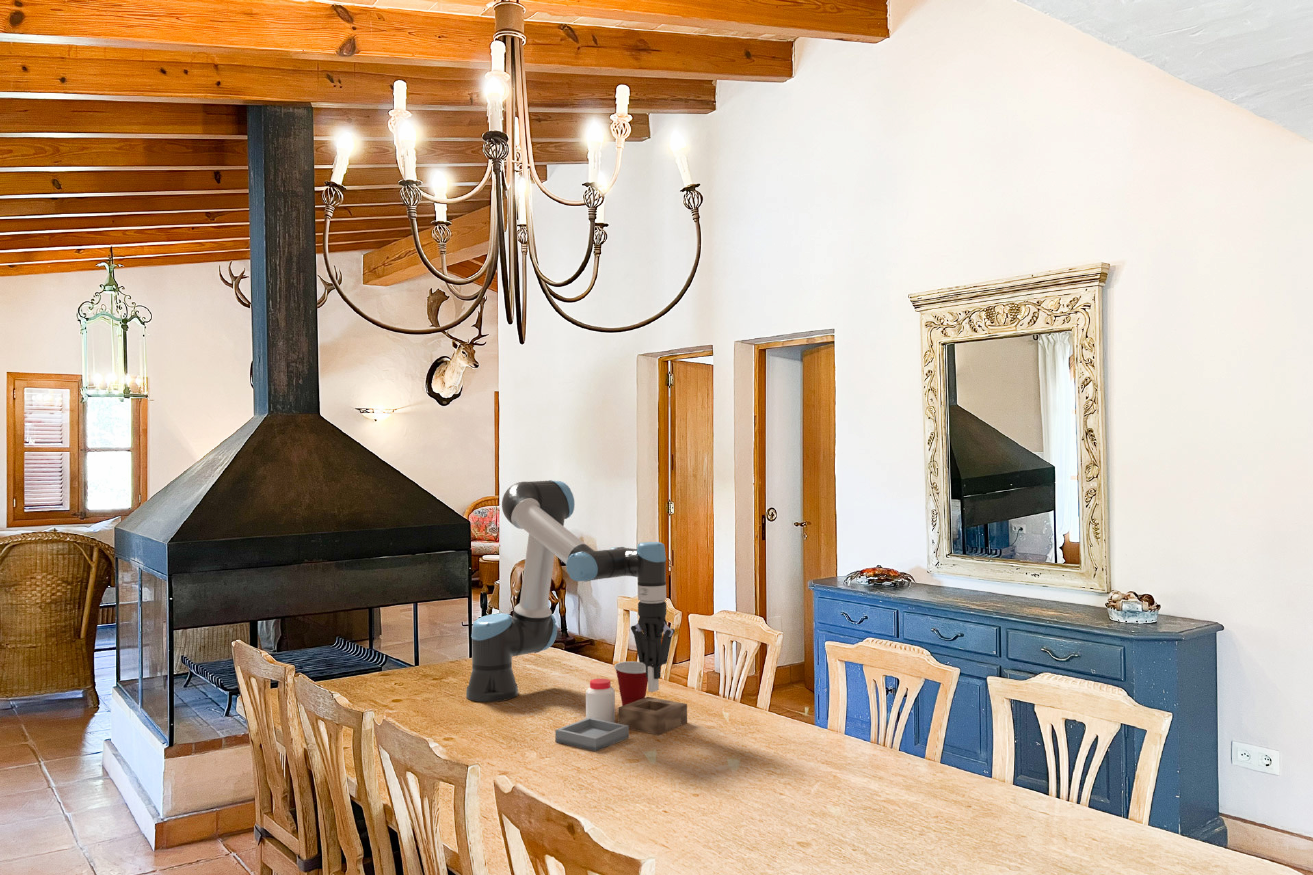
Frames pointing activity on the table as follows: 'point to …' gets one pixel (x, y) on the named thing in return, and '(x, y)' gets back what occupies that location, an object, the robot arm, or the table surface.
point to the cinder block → (653, 715)
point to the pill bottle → (600, 700)
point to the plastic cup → (631, 681)
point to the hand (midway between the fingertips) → (653, 690)
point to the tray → (592, 734)
